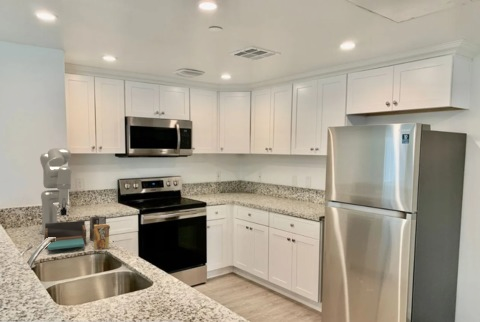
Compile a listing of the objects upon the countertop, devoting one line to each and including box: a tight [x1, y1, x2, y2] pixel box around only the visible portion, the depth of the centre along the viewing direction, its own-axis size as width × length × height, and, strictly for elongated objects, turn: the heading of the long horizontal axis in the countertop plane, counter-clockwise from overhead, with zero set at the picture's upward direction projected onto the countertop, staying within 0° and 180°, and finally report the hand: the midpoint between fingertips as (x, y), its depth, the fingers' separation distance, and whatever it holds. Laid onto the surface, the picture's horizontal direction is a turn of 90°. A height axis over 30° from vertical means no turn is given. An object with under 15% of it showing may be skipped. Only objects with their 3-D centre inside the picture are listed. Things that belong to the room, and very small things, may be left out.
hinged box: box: [43, 220, 87, 250], centre depth 225 cm, size 16×24×13 cm, turn 118°
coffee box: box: [89, 215, 107, 241], centre depth 235 cm, size 9×6×16 cm
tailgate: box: [46, 239, 85, 251], centre depth 212 cm, size 1×20×14 cm
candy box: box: [93, 223, 110, 250], centre depth 216 cm, size 9×4×15 cm, turn 116°
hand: (63, 215), depth 216 cm, fingers closed
